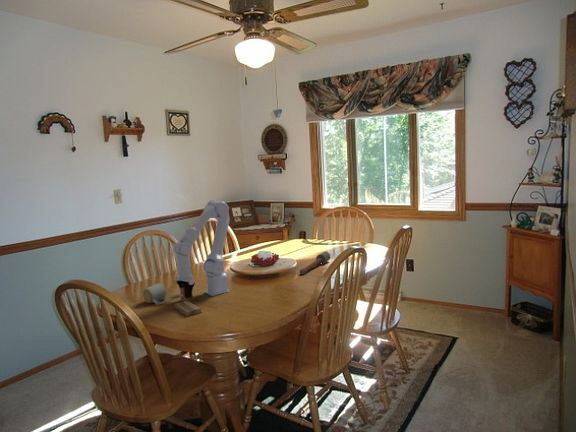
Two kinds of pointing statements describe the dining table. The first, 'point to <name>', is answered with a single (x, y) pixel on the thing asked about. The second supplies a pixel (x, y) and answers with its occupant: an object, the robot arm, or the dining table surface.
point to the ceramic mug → (155, 294)
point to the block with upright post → (182, 295)
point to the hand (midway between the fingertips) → (186, 296)
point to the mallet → (316, 262)
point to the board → (187, 308)
